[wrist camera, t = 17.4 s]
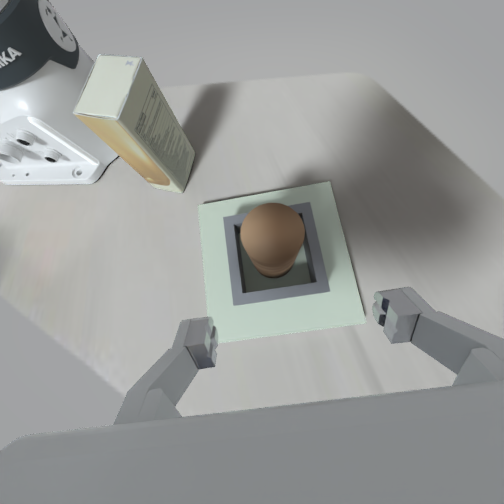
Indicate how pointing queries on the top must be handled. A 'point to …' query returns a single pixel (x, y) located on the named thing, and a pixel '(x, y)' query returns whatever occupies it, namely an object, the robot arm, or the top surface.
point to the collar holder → (288, 286)
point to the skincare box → (136, 120)
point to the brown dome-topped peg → (272, 238)
